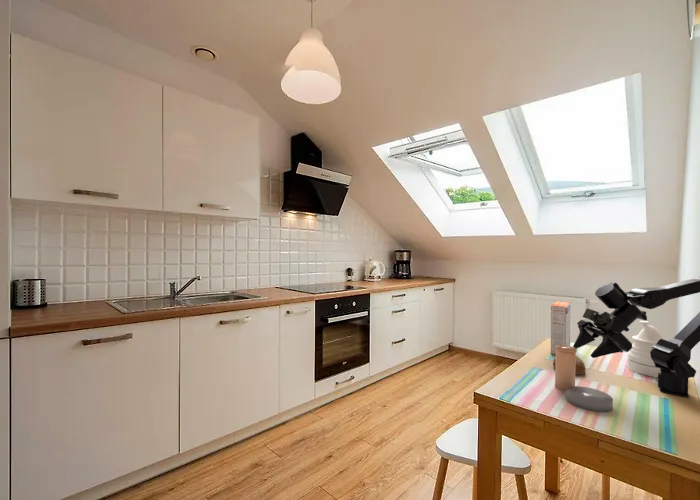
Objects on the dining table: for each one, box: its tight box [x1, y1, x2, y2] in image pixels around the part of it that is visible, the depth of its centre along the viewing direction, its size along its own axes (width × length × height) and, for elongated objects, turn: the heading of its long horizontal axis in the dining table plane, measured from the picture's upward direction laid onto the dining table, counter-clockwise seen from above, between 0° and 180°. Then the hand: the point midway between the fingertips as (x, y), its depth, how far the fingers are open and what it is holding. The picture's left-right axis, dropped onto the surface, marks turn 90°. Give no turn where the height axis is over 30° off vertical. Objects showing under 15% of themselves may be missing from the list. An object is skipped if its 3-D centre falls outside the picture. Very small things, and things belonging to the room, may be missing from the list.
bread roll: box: [552, 355, 587, 376], centre depth 125 cm, size 10×10×8 cm
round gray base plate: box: [566, 385, 614, 413], centre depth 99 cm, size 11×11×2 cm
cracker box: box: [550, 300, 571, 355], centre depth 147 cm, size 14×6×21 cm, turn 141°
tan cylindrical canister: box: [554, 345, 578, 392], centre depth 110 cm, size 6×6×13 cm
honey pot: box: [626, 320, 665, 378], centre depth 125 cm, size 13×13×18 cm
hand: (582, 352), depth 109 cm, fingers open, 9 cm apart
